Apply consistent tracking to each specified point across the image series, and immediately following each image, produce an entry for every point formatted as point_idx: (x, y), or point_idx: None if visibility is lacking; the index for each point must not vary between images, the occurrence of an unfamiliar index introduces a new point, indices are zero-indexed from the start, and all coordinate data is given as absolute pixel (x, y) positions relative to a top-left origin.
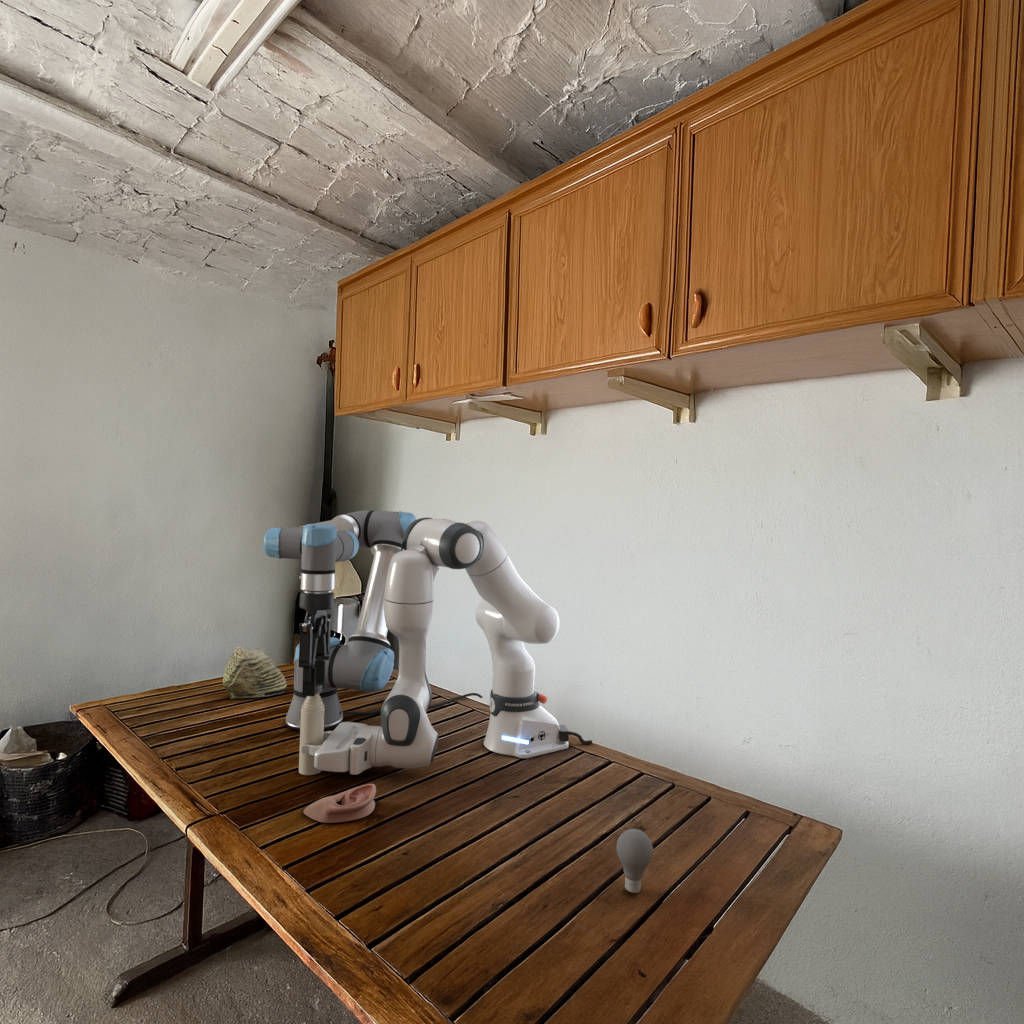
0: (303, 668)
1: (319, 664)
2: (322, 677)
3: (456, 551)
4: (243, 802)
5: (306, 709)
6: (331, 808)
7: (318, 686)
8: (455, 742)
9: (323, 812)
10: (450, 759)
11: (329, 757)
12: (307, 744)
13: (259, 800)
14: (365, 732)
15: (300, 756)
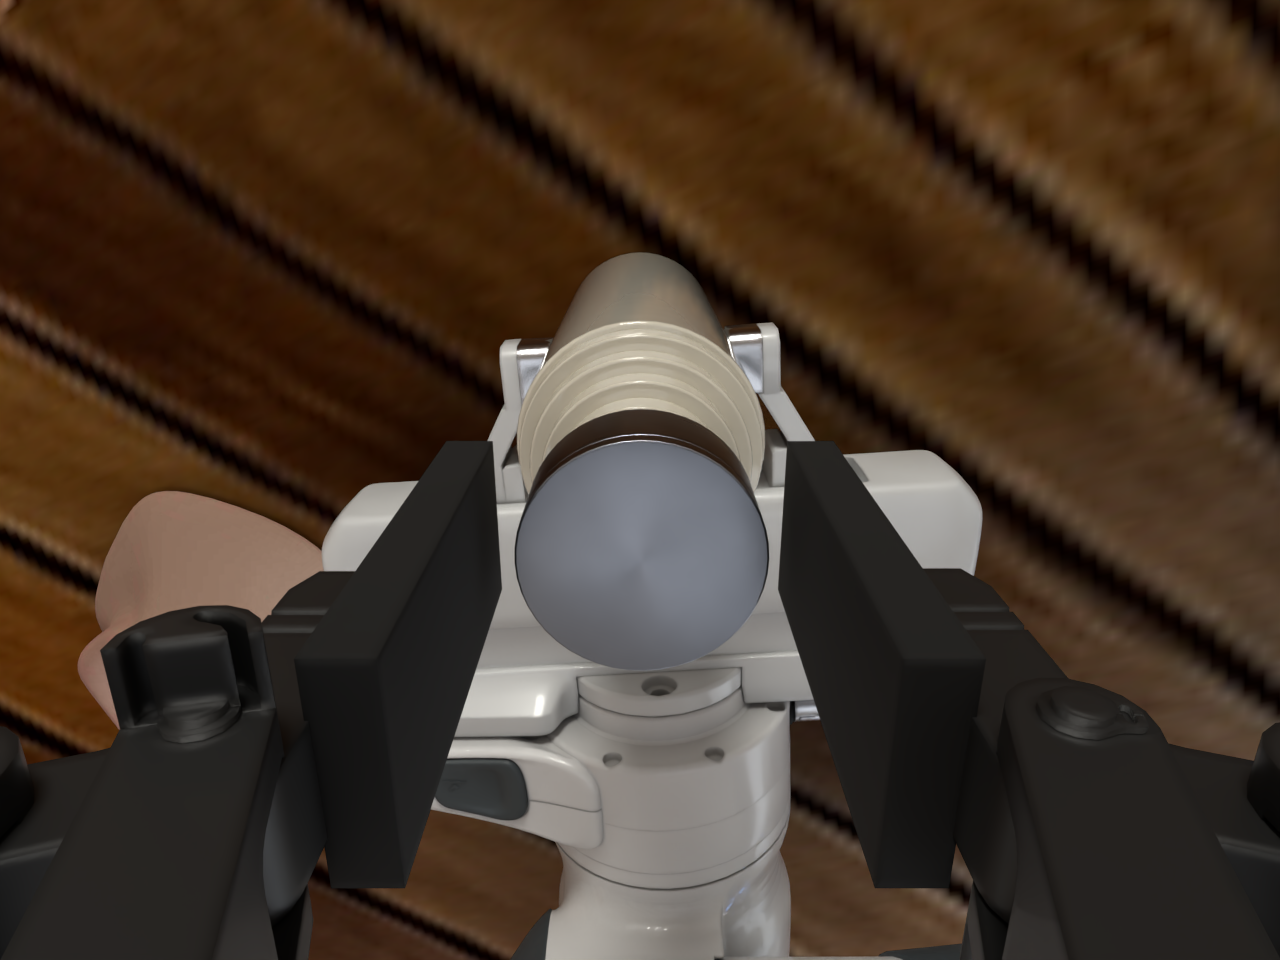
0: (302, 649)
1: (863, 752)
2: (806, 663)
3: None
4: (144, 114)
5: (521, 430)
6: (83, 676)
7: (574, 649)
8: None
9: (117, 615)
10: (888, 942)
11: None
12: (527, 383)
13: (199, 199)
14: (587, 811)
15: (577, 294)
